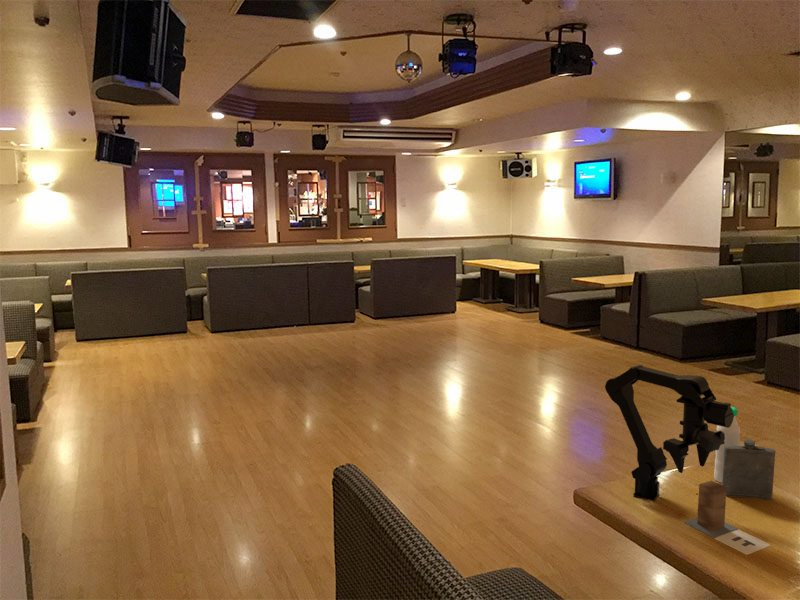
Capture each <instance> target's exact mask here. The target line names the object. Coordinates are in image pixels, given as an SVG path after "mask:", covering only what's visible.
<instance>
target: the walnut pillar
mask: <svg viewBox="0 0 800 600" xmlns="http://www.w3.org/2000/svg"><path fill="white" fill-rule="evenodd" d="M726 488H727V487H725V486H723V485H722V483H719V482H716V481H714V480H708V481H705V482H702V483H699V484H698V499H697V502H698V503H697V517H698V518H697V517H696V518H697V524H699V525H701V526H703V527H705V528H707V529H709V530H711V531H714V530H717V529H720V528H723V527H724V524H725V522H726V521H725V520H726V519H725V518H726V505H727V504H726V503H727V501H726V500H727V496H726Z"/></svg>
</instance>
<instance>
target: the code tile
mask: <svg viewBox="0 0 800 600" xmlns="http://www.w3.org/2000/svg"><path fill="white" fill-rule="evenodd" d="M713 539H714V540H716V541H718V542H720V543H722V544H724V545H727V546H728V547H731V548H732V549H734V550H736V551H738V552H740V553H742V554H744V555H746V556H747V555H751V554H752V553H756V552H757V551H760V550H763V549H764V548H768V547H770V546H771V544H770V543H768V542H765V541H764V540H761V539H760V538H758V537H755V536H753V535H751V534H750V533H747V532H745V531H742V530H740V529H739V528H738V529H737V530H734V531H732V532H729V533H726V534H724V535H721V536H718V537H716V538H713Z"/></svg>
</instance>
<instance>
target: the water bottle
mask: <svg viewBox="0 0 800 600" xmlns="http://www.w3.org/2000/svg"><path fill="white" fill-rule="evenodd" d="M731 408H732V410H733V413H734V418H733V422H732V424H731V426H730V427H729V428H727V427H722V426H718V425H716V432H717V431H722V432H723V433H724V435H725V440H724V442H725V443H724V444H722V445H720V448H719V450H715V458H714V471H713V472H714V473H713V478H714V479H715V481H717V483H719V484H722V479H723V461H724V446H741V445H740V444H741V443H740V442H741V438H740V435H741V428H740V425H739V423H738V420H737V416H738V413H739V412H738V409H737V408H736V407H734V406H731Z"/></svg>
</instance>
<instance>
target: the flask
mask: <svg viewBox="0 0 800 600" xmlns="http://www.w3.org/2000/svg"><path fill="white" fill-rule="evenodd" d="M775 461H776V450H775V449H773V448H770V447H764V446H758V445H756V441H755V440H753V439H743V445H740V446H724V461H723V479H722V483H721V485H723V486H725V487H727V488H726V498H727V497H728V498H729V497H730V496H732V497H733V498H735V497H736V498H751V499H757V500H759V499H760V500H766V501H771V500H772V499H773V493H774V492H773V491H774V477H775V474H774V473H775V463H776V462H775Z"/></svg>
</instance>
